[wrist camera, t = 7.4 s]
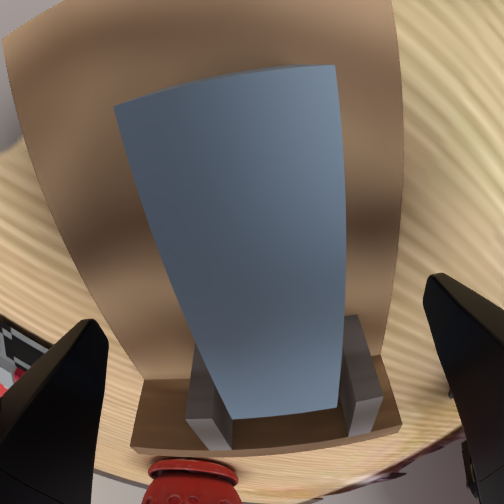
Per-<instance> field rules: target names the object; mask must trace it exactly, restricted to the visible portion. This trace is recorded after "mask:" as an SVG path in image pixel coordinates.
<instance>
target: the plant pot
mask: <svg viewBox="0 0 504 504" xmlns="http://www.w3.org/2000/svg"><path fill="white" fill-rule="evenodd" d="M148 475H149V476H150V477H151V478H152V479H154V480H153V482H152V483H151V484H150V486H149V487H148V489H147V491H146V493H145V495H144V498H143V501H142V504H242V502H241V499H240V497H239V495H238V493H237V492H236V490H235V488H234V486H235V485H237V484H238V477H237V475H236V474H235V473H234V472H233V471H232V470H230V469H229V468H227V467H225V466H222V465H220V464H217V463H212V462H207V461H201V460H192V459H190V458H184V459H167V460H162V461H159V462H156V463H155V464H153V465H152V466H151V467H150V468H149V470H148Z"/></svg>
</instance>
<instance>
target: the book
mask: <svg viewBox="0 0 504 504" xmlns="http://www.w3.org/2000/svg"><path fill="white" fill-rule="evenodd" d="M113 108H114V112H115V116H116V119H117V123H118V127H119V130H120V134H121V138H122V141H123V145H124V148H125V151H126V155H127V158H128V162H129V165H130V168H131V171H132V175H133V178H134V181H135V184H136V187H137V190H138V194H139V197H140V200H141V203H142V206H143V209H144V212H145V215H146V217H147V220H148V223H149V226H150V229H151V232H152V235H153V237H154V240H155V243H156V246H157V248H158V251H159V254H160V256H161V259H162V262H163V264H164V267H165V270H166V272H167V275H168V277H169V280H170V283H171V285H172V288H173V290H174V293H175V295H176V298H177V300H178V302H179V305H180V307H181V310H182V312H183V315H184V317H185V319H186V322H187V324H188V326H189V329H190V331H191V333H192V336H193V338H194V340H195V342H196V345H197V347H198V349H199V351H200V354H201V356H202V358H203V360H204V362H205V365H206V367H207V369H208V371H209V373H210V375H211V378H212V380H213V382H214V384H215V386H216V388H217V390H218V392H219V394H220V396H221V398H222V400H223V402H224V404H225V406H226V408H227V410H228V412H229V414H230V416H231V418H232V419H246V418H259V417H270V416H279V415H288V414H296V413H304V412H311V411H317V410H324V409H330V408H336V407H337V401H338V392H339V382H340V371H341V359H342V346H343V331H344V312H345V286H346V201H345V175H344V156H343V141H342V127H341V116H340V105H339V95H338V86H337V77H336V69H335V65H322V64H295V65H283V66H275V67H267V68H259V69H252V70H246V71H240V72H234V73H228V74H223V75H217V76H212V77H208V78H203V79H198V80H194V81H189V82H185V83H181V84H177V85H173V86H170V87H167V88H164V89H160V90H157V91H154V92H151V93H148V94H145V95H143V96H140V97H137V98H134V99H131V100H129V101H126V102H123V103H121V104H118V105H115V106H113Z"/></svg>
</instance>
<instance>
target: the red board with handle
mask: <svg viewBox="0 0 504 504" xmlns="http://www.w3.org/2000/svg"><path fill="white" fill-rule="evenodd" d="M48 350H49V349H47V348H45V347H43V346H41V345H40V344H38V343H36V342H34V341H33V340H31V339H29V338H28V337H26V336H24V335H23V334H21V333H19V332H18V331H16V330H14V329H13V328H11V327H10V326H8V325H7V324H5V323H3V322H2V321H0V397H1V396H3V394H4V393H5V392H6V391H7V390H8V389H9V388H10V387H11V386H12V385H13V384H14V383H15V382H16V381H17V380H18V379H19V378H20V377H21V376H22V375H23V374H24V373H25V372H26V371H27V370H28V369H29V368H30V367H31V366H32V365H33V364H34V363H35V362H36V361H38V360H39V359H40V358H41V357H42V356H43V355H44V354H45V353H46V352H47V351H48Z"/></svg>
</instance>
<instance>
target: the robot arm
mask: <svg viewBox="0 0 504 504" xmlns="http://www.w3.org/2000/svg"><path fill="white" fill-rule="evenodd" d="M423 307H424V310H425V313H426V316H427V320H428V323H429V326H430V330H431V333H432V336H433V340H434V343H435V347H436V350H437V354H438V356H439V359H440V362H441V365H442V367H443V370H444V373H445V375H446V378H447V381H448V383H449V386H450V389H451V390H450V392H449V394H448V396H449V398H450V399H451V398H454V401H455V404H456V407H457V410H458V413H459V416H460V419H461V423H462V426H463V429H464V433H465V436H466V441H464V442H462V454H463V460H464V465H465V472H466V486H467V489H470V490H471V492H472V494H473V495H474V497H475V498H477V499H479V501H480V504H504V310H503V309H501V308H500V307H498V306H497V305H495V304H494V303H492V302H490V301H489V300H487V299H486V298H484V297H483V296H481V295H479V294H478V293H476V292H475V291H473V290H471V289H470V288H468V287H466V286H465V285H463V284H461V283H460V282H458V281H456V280H455V279H453V278H451V277H450V276H448V275H446V274H444V273H437V274H432V275H430V276H429V277H428V279H427V283H426V287H425V292H424V296H423ZM108 349H109V342H108V339H107V337H106V335H105V334H104V332H103V331H102V329H101V327H100V326H99V324H98V323H97V321H96V320H94V319H84V320H81V321H80V322H78V323H77V324H76V325H75V326H74V327H73V328H72V329H71V330H70V331H69V332H67V333H66V334H65V335H64V336H63V337H62V338H61V339H60V340H59V341H58V342H57V343H56V344H54V345H53V346H52V347H51V348H50V349H49V350H48V351H47V352H46V353H45V354H44V355H43V356H42V357H41V358H40V359H39V360H38V361H36V362H35V363H34V364H33V365H32V366H31V367H30V368H29V369H28V370H27V371H26V372H25V373H24V374H23V375H22V376H21V377H20V378H19V379H18V380H17V381H16V382H15V383H14V384H13V385H12V386H11V387H10V388H9V389H8V390H7V391H6V392H5V393H4V394H3V396H1V397H0V504H91V492H92V480H93V469H94V460H95V451H96V444H97V436H98V429H99V422H100V416H101V410H102V404H103V398H104V390H105V380H106V369H107V359H108Z"/></svg>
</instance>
